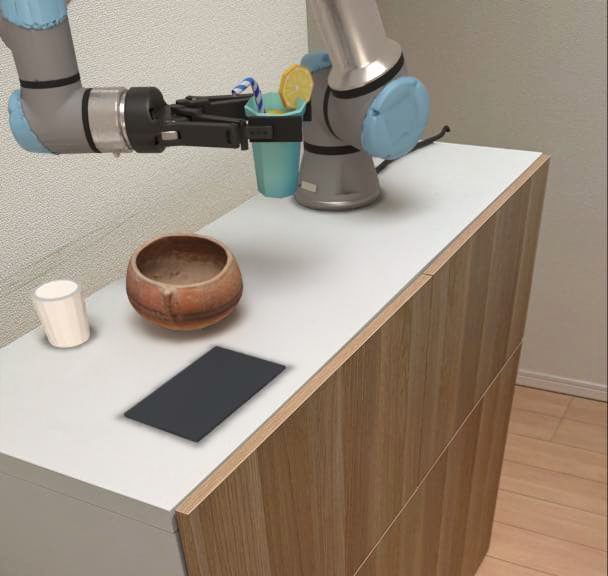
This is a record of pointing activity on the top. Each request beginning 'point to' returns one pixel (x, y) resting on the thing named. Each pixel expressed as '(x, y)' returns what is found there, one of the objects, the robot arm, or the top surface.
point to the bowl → (183, 281)
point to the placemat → (205, 393)
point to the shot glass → (62, 311)
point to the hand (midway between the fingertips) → (306, 118)
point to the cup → (278, 155)
